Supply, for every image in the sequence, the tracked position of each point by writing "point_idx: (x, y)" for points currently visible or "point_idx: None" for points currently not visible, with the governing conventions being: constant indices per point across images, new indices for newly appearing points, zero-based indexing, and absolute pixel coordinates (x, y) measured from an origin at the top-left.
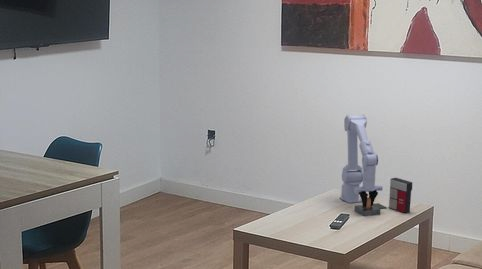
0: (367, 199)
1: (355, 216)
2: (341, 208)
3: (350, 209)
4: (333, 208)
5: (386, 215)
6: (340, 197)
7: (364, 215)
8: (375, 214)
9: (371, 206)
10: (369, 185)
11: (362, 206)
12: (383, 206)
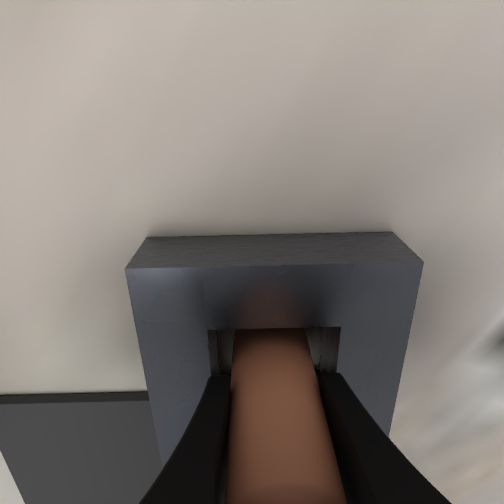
0: (328, 484)
1: (494, 250)
2: None
3: None
4: (491, 493)
5: (78, 171)
6: None
7: (385, 234)
8: (218, 237)
9: (197, 400)
10: None
11: None
12: (8, 433)
